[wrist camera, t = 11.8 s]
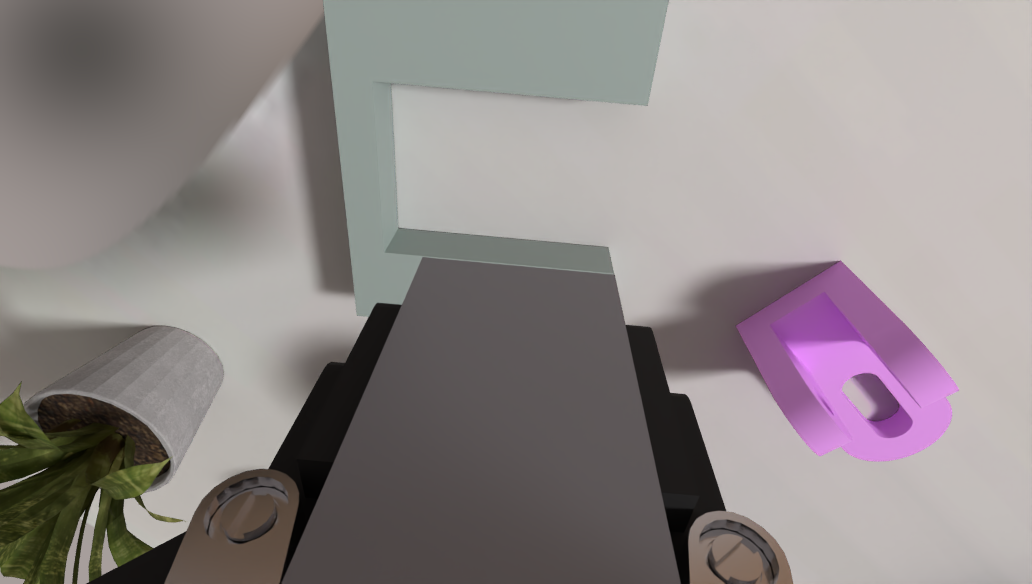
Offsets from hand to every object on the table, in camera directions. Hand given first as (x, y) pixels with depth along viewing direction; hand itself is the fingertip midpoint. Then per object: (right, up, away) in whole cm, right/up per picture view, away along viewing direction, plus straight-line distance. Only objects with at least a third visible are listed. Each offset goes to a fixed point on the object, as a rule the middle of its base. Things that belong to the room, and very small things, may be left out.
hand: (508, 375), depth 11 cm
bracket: (+18, -2, +17) cm, 25 cm away
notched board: (0, +7, +12) cm, 14 cm away
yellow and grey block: (0, +1, +1) cm, 1 cm away
